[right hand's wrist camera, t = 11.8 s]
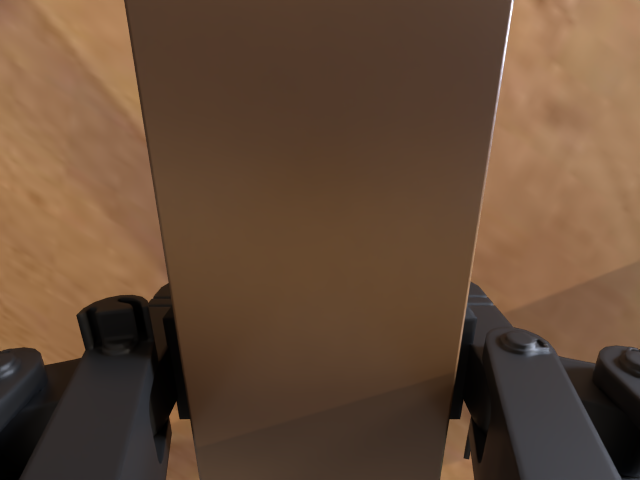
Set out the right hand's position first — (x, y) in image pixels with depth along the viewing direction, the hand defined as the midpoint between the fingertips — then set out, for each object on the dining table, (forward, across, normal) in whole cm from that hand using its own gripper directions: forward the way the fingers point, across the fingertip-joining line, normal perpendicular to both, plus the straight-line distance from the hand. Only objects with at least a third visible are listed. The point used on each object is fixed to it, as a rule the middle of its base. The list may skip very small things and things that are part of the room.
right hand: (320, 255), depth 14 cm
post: (+1, 0, -32) cm, 32 cm away
